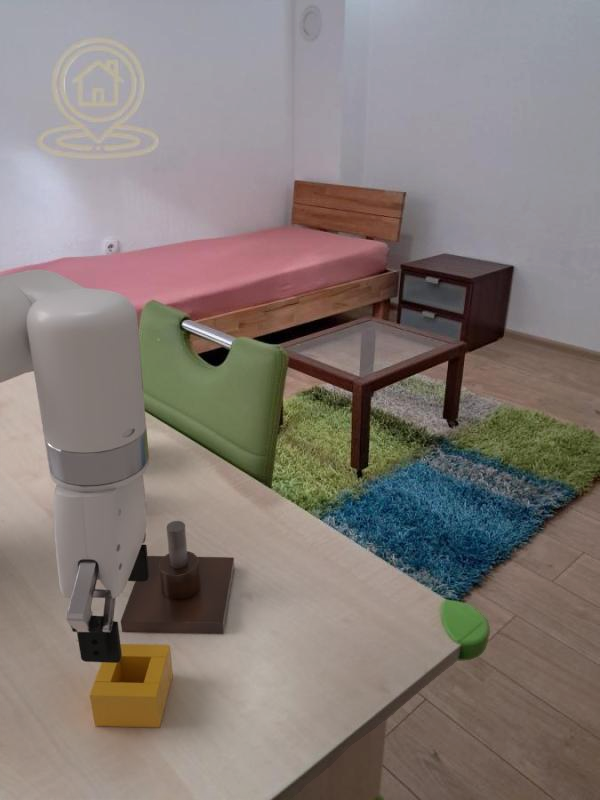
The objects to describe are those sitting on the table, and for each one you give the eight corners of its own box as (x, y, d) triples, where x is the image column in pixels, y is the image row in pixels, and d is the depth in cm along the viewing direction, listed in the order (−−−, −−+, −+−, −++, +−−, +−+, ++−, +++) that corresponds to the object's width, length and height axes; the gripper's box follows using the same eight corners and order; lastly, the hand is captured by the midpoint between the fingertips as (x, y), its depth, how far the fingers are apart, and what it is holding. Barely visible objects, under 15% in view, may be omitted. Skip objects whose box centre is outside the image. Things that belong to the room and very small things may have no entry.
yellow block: (94, 726, 58) (89, 695, 56) (113, 673, 63) (108, 643, 62) (160, 727, 58) (156, 696, 56) (172, 674, 63) (170, 644, 62)
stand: (121, 631, 68) (111, 557, 64) (145, 565, 78) (138, 497, 74) (223, 633, 68) (219, 559, 64) (234, 567, 78) (231, 498, 74)
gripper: (86, 401, 57) (104, 552, 64) (1, 513, 42) (38, 696, 49) (169, 404, 57) (178, 555, 64) (115, 517, 42) (135, 700, 49)
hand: (118, 616), depth 57 cm, fingers open, 9 cm apart
